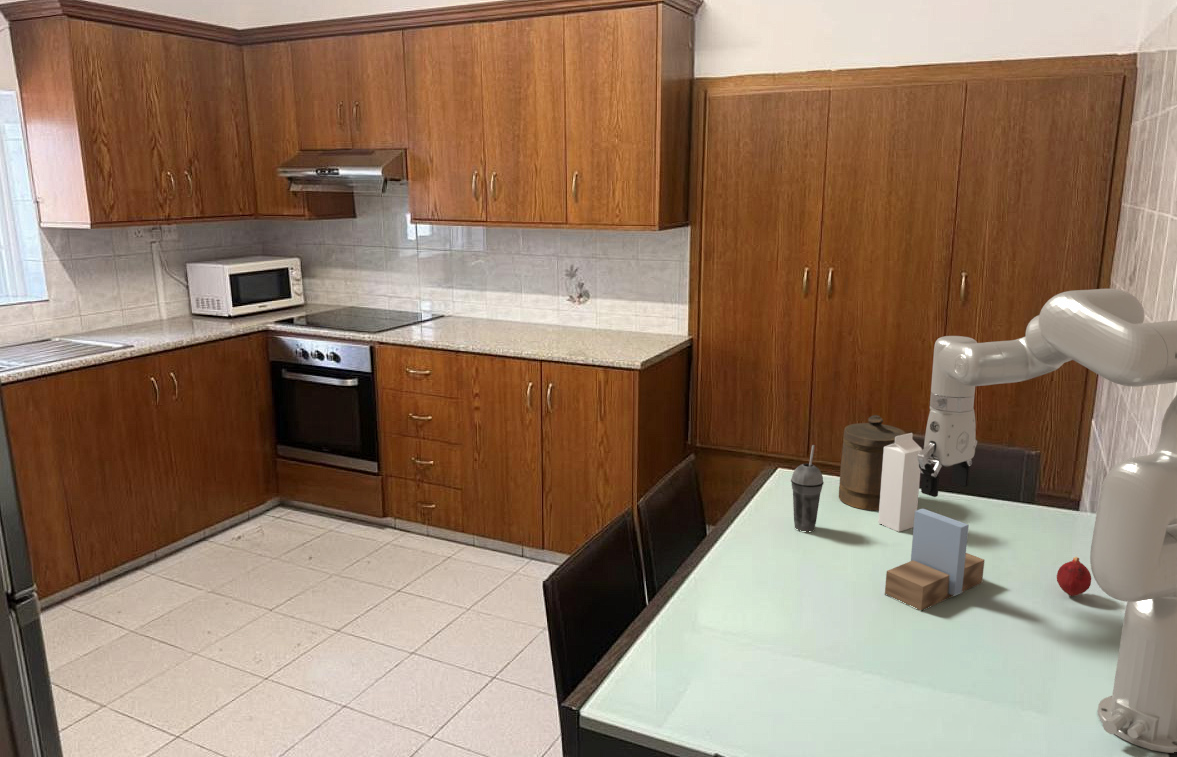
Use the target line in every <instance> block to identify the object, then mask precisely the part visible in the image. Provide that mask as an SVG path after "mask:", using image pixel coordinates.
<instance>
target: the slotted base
mask: <svg viewBox="0 0 1177 757" xmlns="http://www.w3.org/2000/svg"><path fill="white" fill-rule="evenodd" d="M984 568H985V559H984V558H981V557H979V556H975V555H973V554H970V553H968V552H966V557H965V566H964V576H963V586H962V593H964V592H966V591H969V589H972V588H975V587H977V586H978V585H981V584H982V583H983V578H984V577H983V576H984ZM885 576H886V577H885V586H884V588H885V589H884V595H885V594H887V595H889V596H891V597H893V598H895V599H897V600H900V601H902V602H904V603H906V604H908V605H911V606H913V607H915V608H917V609H919V610H923V609H925V610H927V609H929V608H931V607H934V606H936V605H937V603H938V604H940V603H942V602H944V601H946V600H949V599H950V598H952V597H954V596H953V595H951V594H949V593H948V586H949V576H950V575H948V574H946V573H943V572H941V571H938V570H936V569H933V568H931V567H928V566H926V565H924V564H921V563H919V562H916V561H914V560H912V561H911V560H910V561H908V562H905V563H902V564H900V565H897V566H895V567H894V568H890V569H889V570H886V574H885ZM889 596H888V597H889ZM891 597H890V598H891ZM893 598H892V599H893ZM895 599H894V600H895ZM897 600H896V601H897ZM902 602H901V603H902ZM939 602H940V603H939ZM904 603H903V604H904ZM906 604H905V605H906ZM935 604H936V605H935ZM908 605H907V606H908ZM930 606H931V607H930ZM913 607H912V608H913ZM928 607H929V608H928ZM915 608H914V609H915ZM926 608H927V609H926ZM917 609H916V610H917ZM919 610H918V611H919ZM923 611H924V610H923Z"/></svg>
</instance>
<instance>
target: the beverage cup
mask: <svg viewBox="0 0 1177 757" xmlns="http://www.w3.org/2000/svg"><path fill="white" fill-rule="evenodd" d="M810 450H811V451H810V457H809V463H802V464H800V465H798V466H797V467H796V468H795V469H794V470H793V472H792V476H791V479H790V482H791V489H792V500H793V501H792V502H793V505H792V506H793V522H794V523H793V524H794V529H795V528H796V529H798V530H801V531H806V532H805V533H810V532H809V531H813V530H814V529H816V524H817V519H818V512H819V505H820V504H819V503H820V497H821V493H822V489H823V485H824V484H825V483H824V477H823V474H822V472H821V470H820V469H819V467H817V466H816V465H814V464H813V459H814V452H815V445H814V444H812V445H811V449H810ZM796 529H795V530H796ZM814 531H815V530H814ZM814 531H813V532H814Z"/></svg>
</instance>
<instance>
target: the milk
mask: <svg viewBox="0 0 1177 757" xmlns="http://www.w3.org/2000/svg"><path fill="white" fill-rule="evenodd" d="M913 435H914V434H913V432H910V433H906V434H905V435H901V436H896V437H895V443H894V444H891V445H888V446H885V447H884V452H883V465H882V478H881V491H880V505H879V511H878V521H877V524H878V523H879V524H878V525H880V524H882V525H881V526H883V525H884V526H883V527H885V526H886V527H885V528H888V529H890V528H891V529H890V530H893V531H895V532H897V531H898V532H897V533H900V532H903V531H906V530H909V529H913V528H914V517H915V511H916V510H918V502H919V493H920V492H919V491H920V482H921V469H920V468H919V462H918V458H917V456H918V454H919V453H920V452H921V451H922V450H923V448H922V447H921V446H920V445H919V444H918V443H917V442H916V441H915V440H914V439H913Z"/></svg>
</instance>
